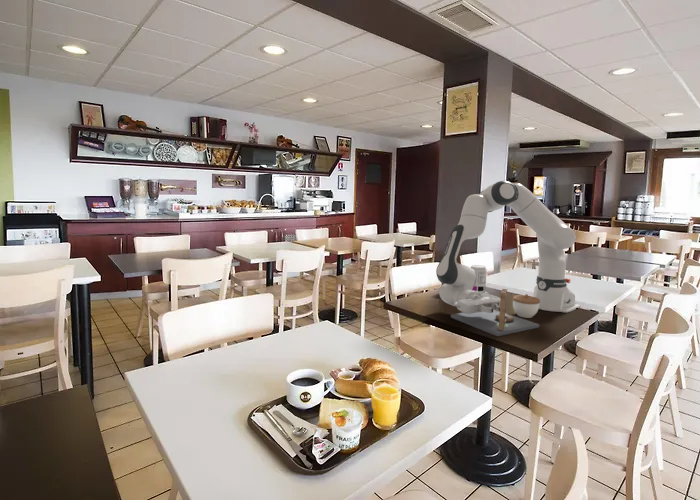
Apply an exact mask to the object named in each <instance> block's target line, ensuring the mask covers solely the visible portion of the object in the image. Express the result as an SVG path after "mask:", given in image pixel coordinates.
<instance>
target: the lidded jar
mask: <svg viewBox="0 0 700 500" xmlns="http://www.w3.org/2000/svg"><path fill="white" fill-rule="evenodd" d="M539 303H540V299H538V298H536V297H533V295H529V294H527V293H526V294H524V295H523V294H520V295H519V294H517V295H514V296H513V297H512V308H513V311H514V312H515V314H517V317H519V318H523V319H525V318H526V319H531V318H533V317H534V316H536V314H538V311H539V310H540V309H539Z"/></svg>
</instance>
